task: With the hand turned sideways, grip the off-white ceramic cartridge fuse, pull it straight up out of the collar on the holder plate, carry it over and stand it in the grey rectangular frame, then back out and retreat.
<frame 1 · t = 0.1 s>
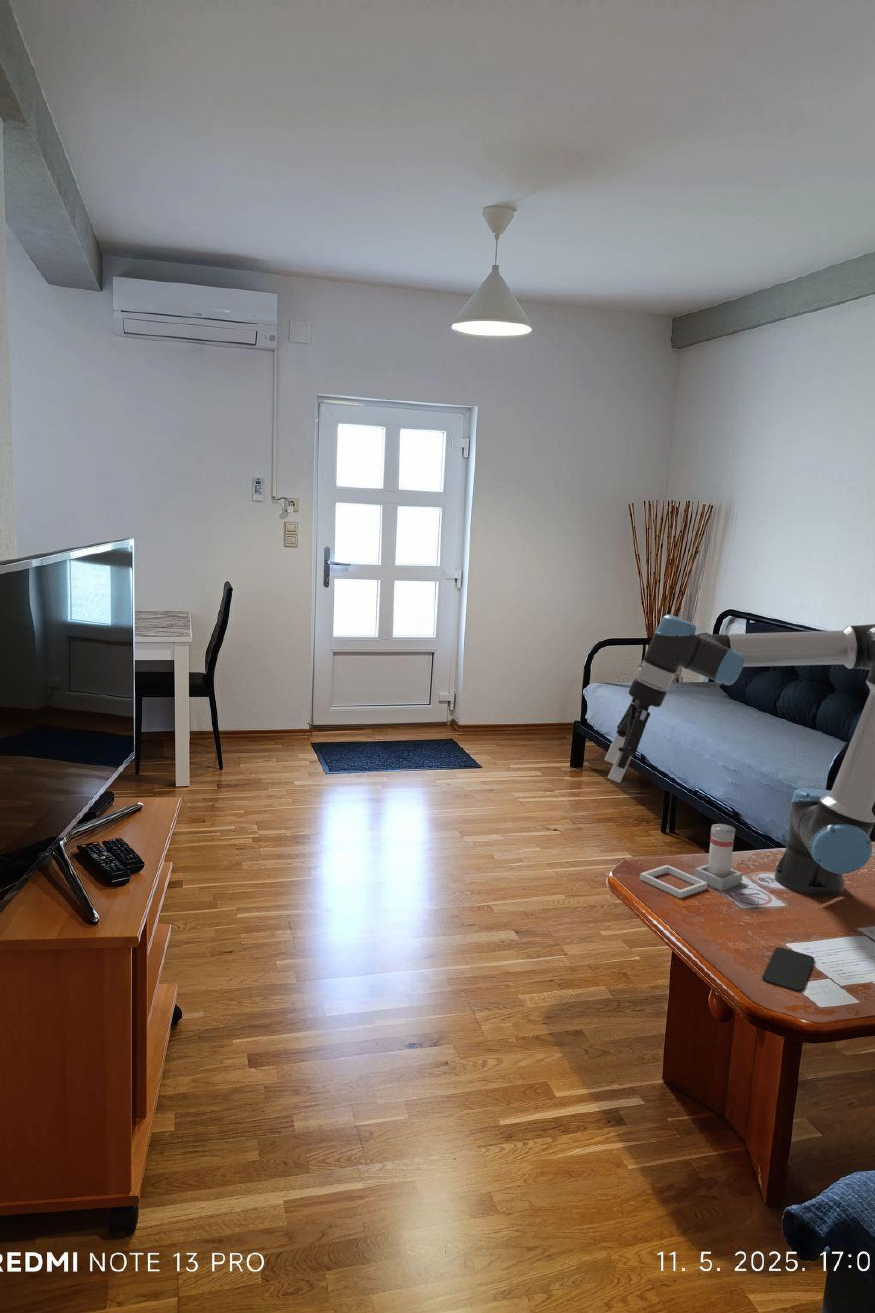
hand: (611, 770, 200), 28 cm above the table, tool tilted 20°, fingers open, 13 cm apart
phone: (788, 972, 173), on the table
grey rectangular frame: (672, 886, 208), on the table
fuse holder: (717, 883, 210), on the table
fuse: (717, 881, 210), point 1 cm above the table, touching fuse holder
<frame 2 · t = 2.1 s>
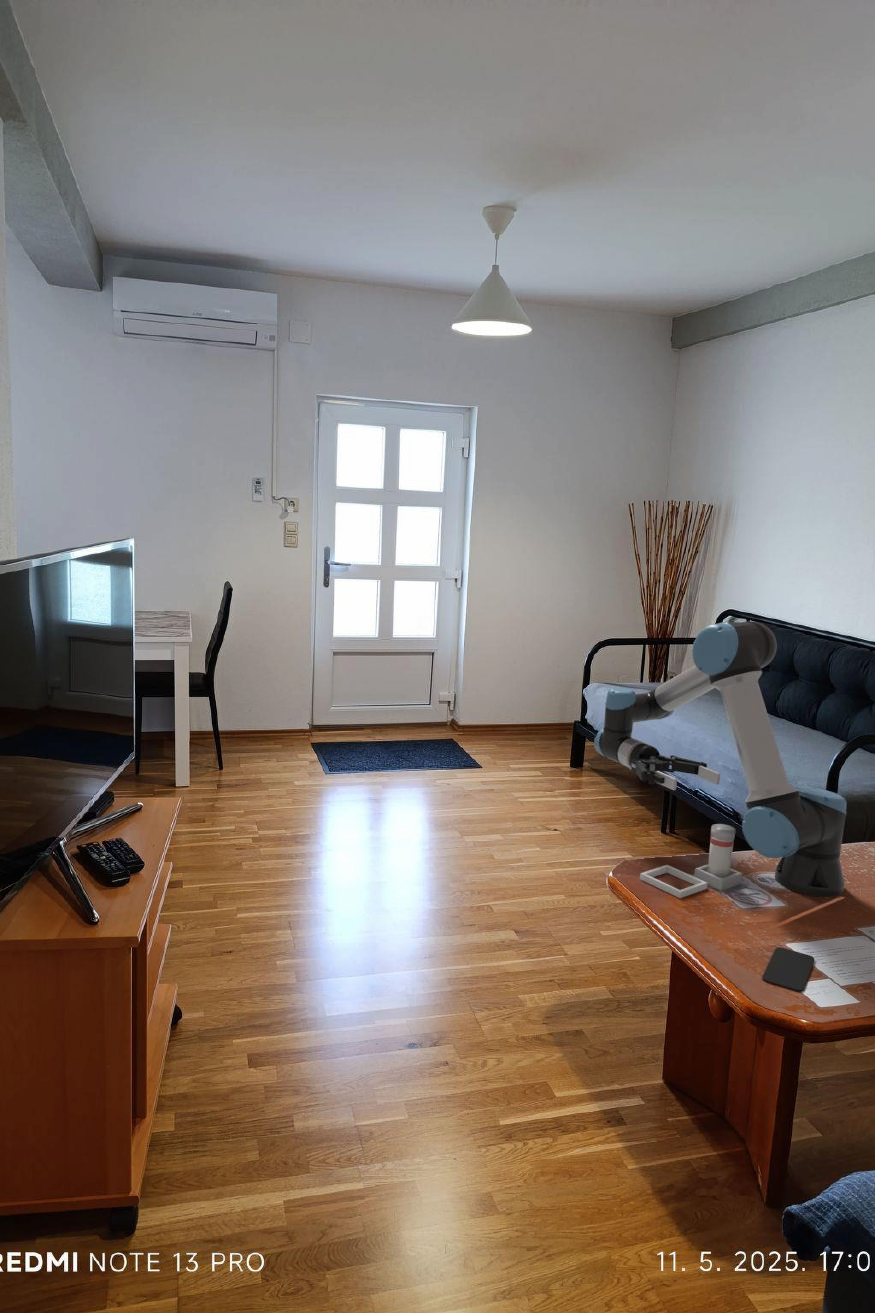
hand: (697, 781, 215), 22 cm above the table, tool horizontal, fingers open, 13 cm apart
nothing on the table moved.
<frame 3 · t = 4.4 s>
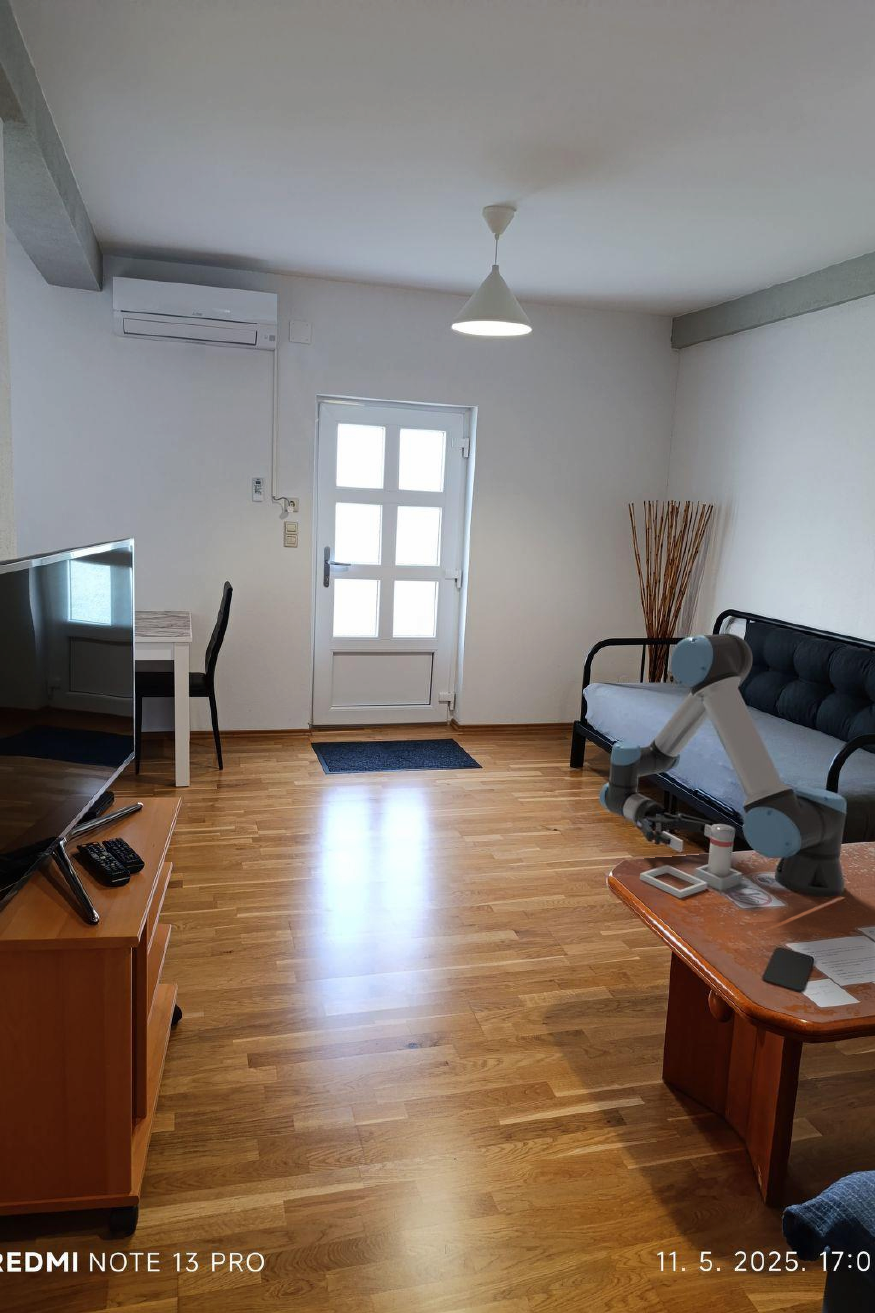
hand: (703, 842, 214), 8 cm above the table, tool horizontal, fingers open, 13 cm apart
nothing on the table moved.
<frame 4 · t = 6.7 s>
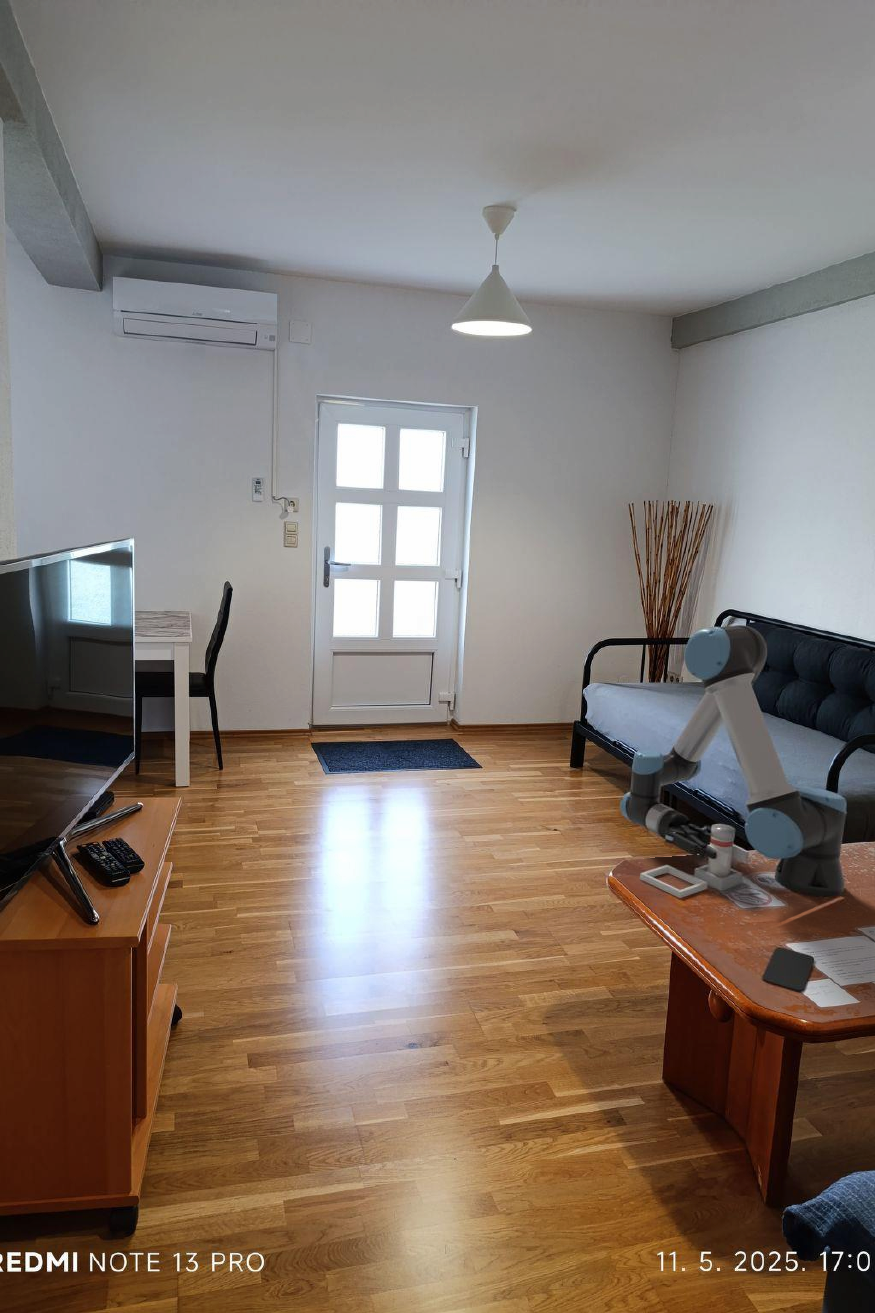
hand: (737, 859, 204), 8 cm above the table, tool horizontal, fingers closed on fuse, 5 cm apart
fuse: (717, 881, 210), point 1 cm above the table, touching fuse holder, gripper
everything else where it was.
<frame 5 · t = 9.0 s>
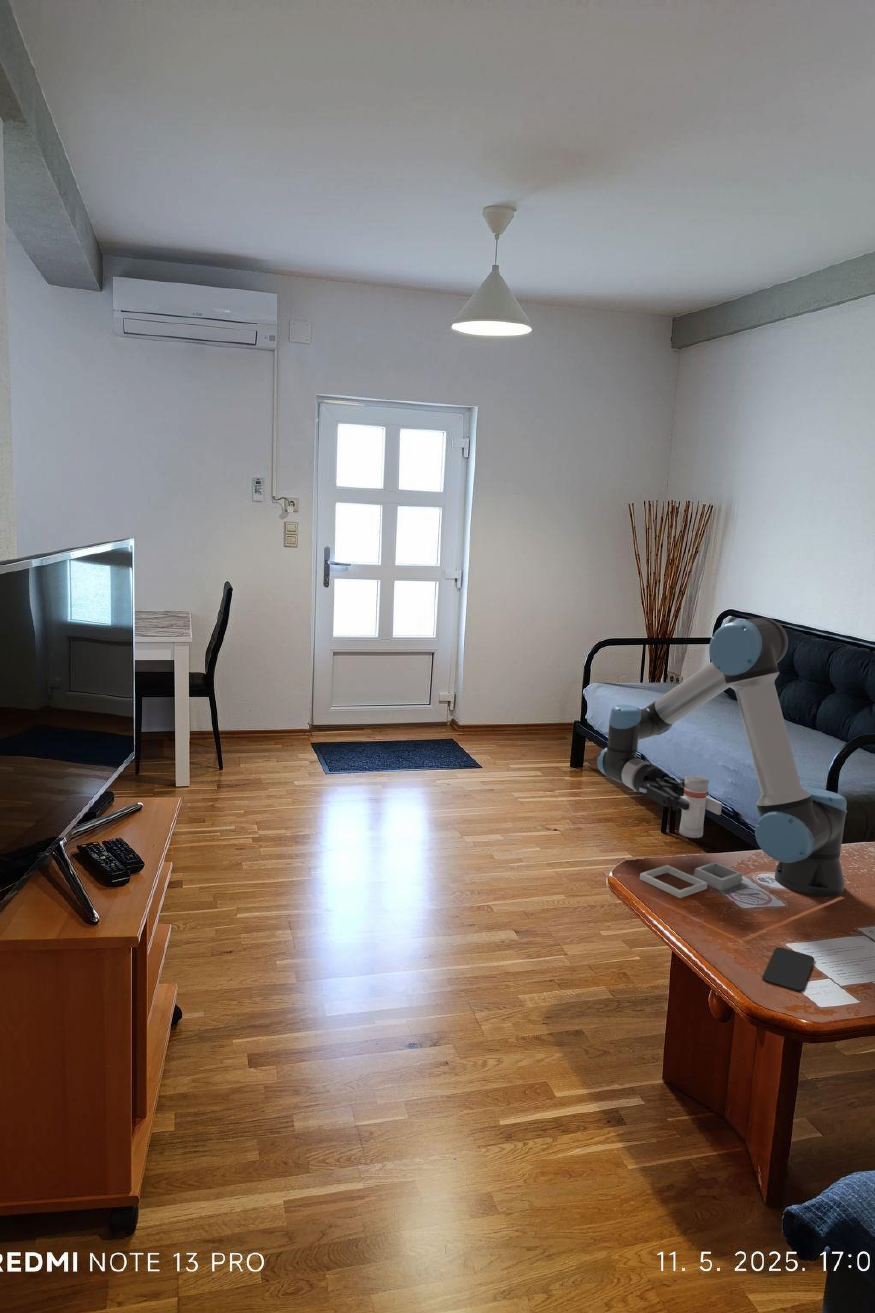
hand: (710, 810, 201), 20 cm above the table, tool horizontal, fingers closed on fuse, 5 cm apart
fuse: (690, 833, 207), point 12 cm above the table, touching gripper
everything else where it was.
when the fingers open (9 cm above the table, at t = 11.5 s): fuse drops 1 cm, resting on grey rectangular frame.
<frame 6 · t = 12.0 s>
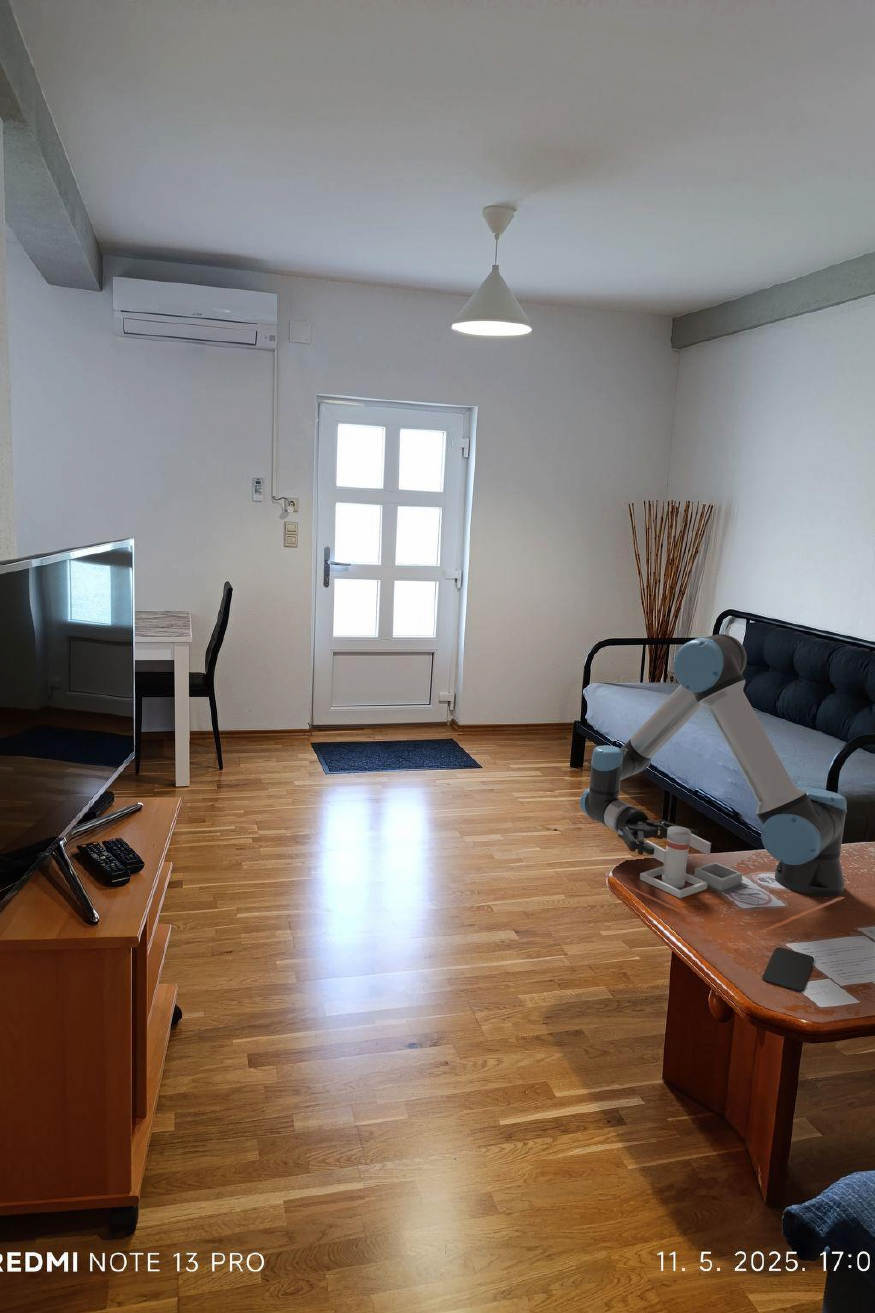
hand: (687, 853, 203), 9 cm above the table, tool horizontal, fingers open, 12 cm apart
fuse: (672, 883, 208), point 1 cm above the table, touching grey rectangular frame
everything else where it was.
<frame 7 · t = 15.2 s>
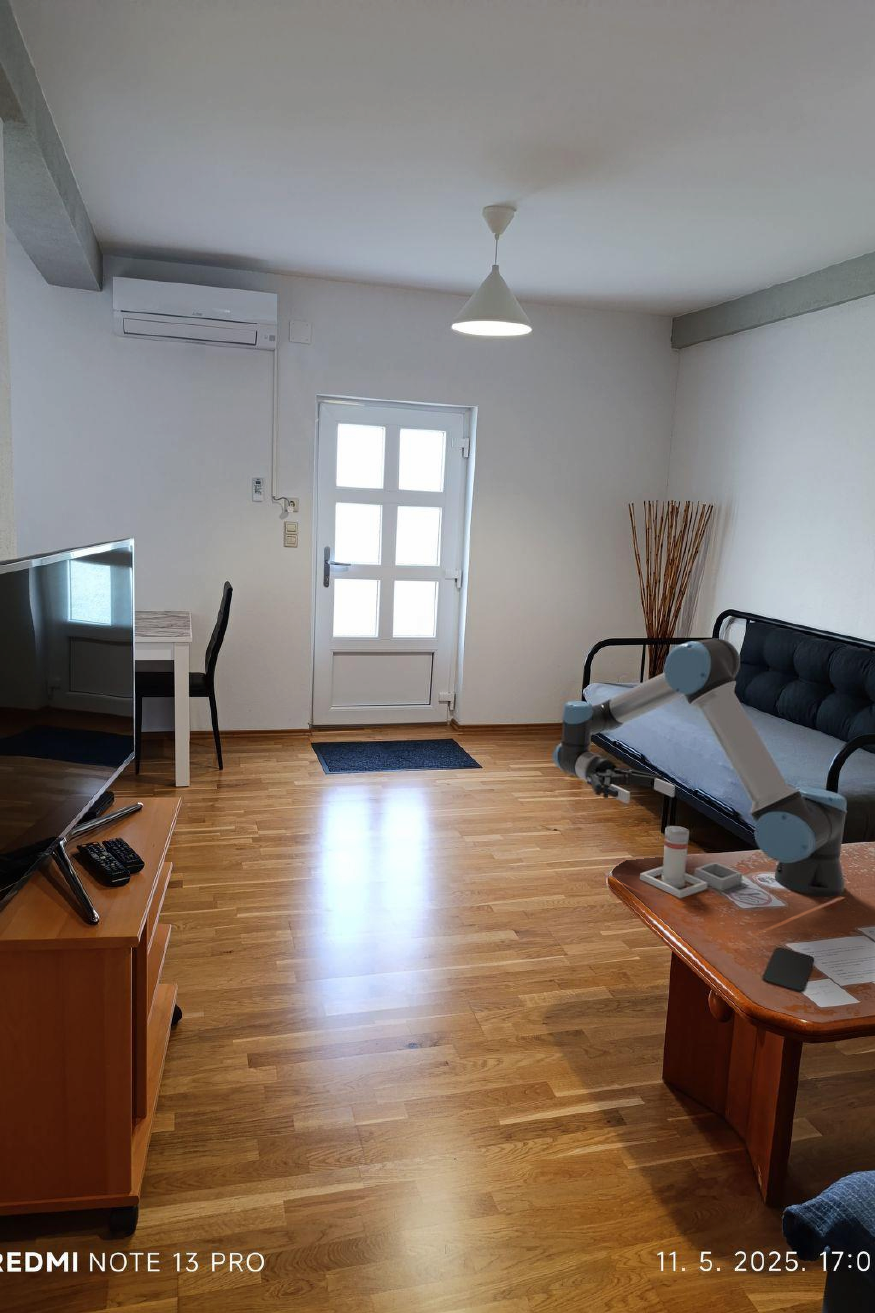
hand: (651, 794, 213), 19 cm above the table, tool horizontal, fingers open, 13 cm apart
nothing on the table moved.
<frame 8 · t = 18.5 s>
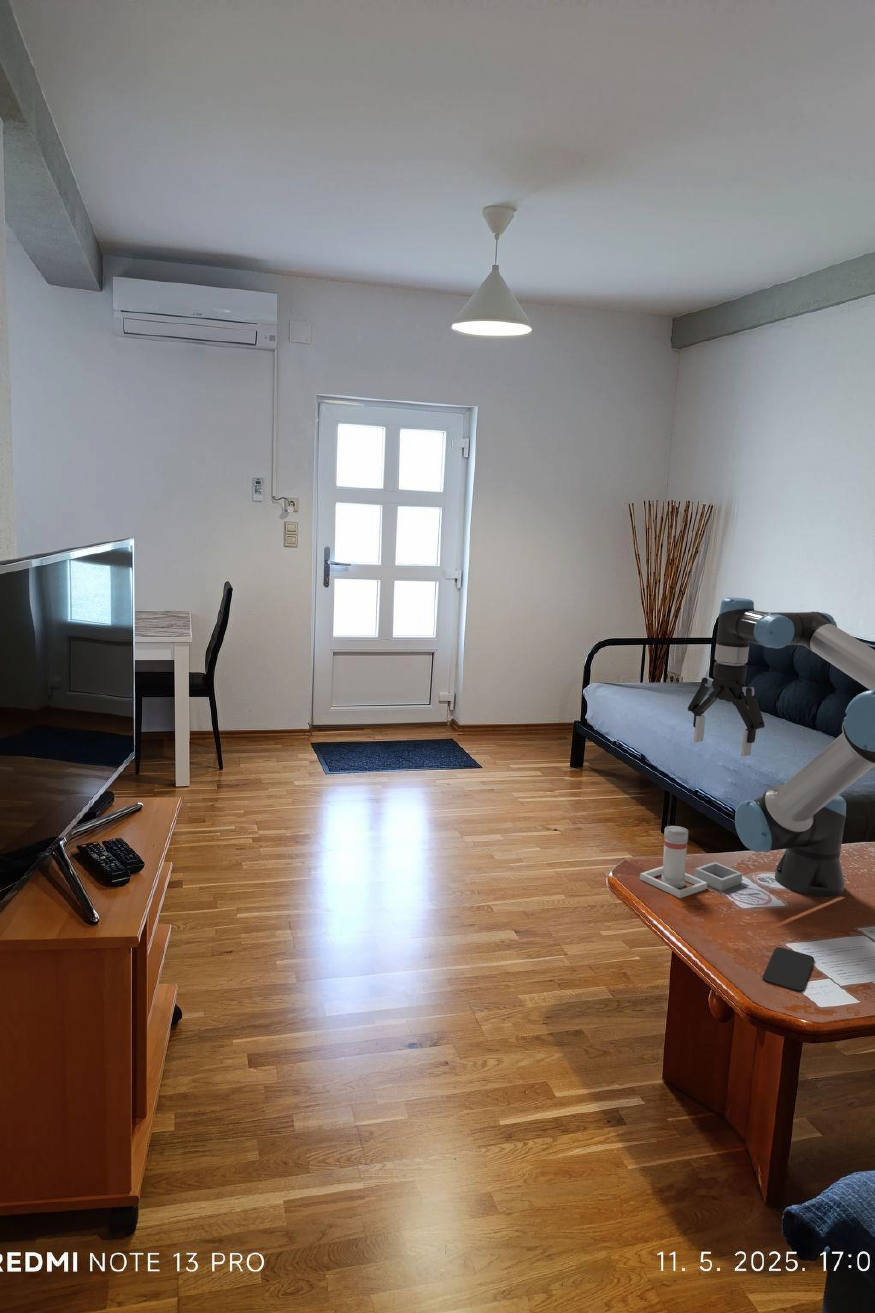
hand: (721, 748, 219), 29 cm above the table, tool pointing down, fingers open, 13 cm apart
nothing on the table moved.
at the end: fuse 0.1 cm off-centre on the grey rectangular frame, point 0.6 cm above the grey rectangular frame's base; fuse tilted 2°; the gripper is holding nothing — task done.
